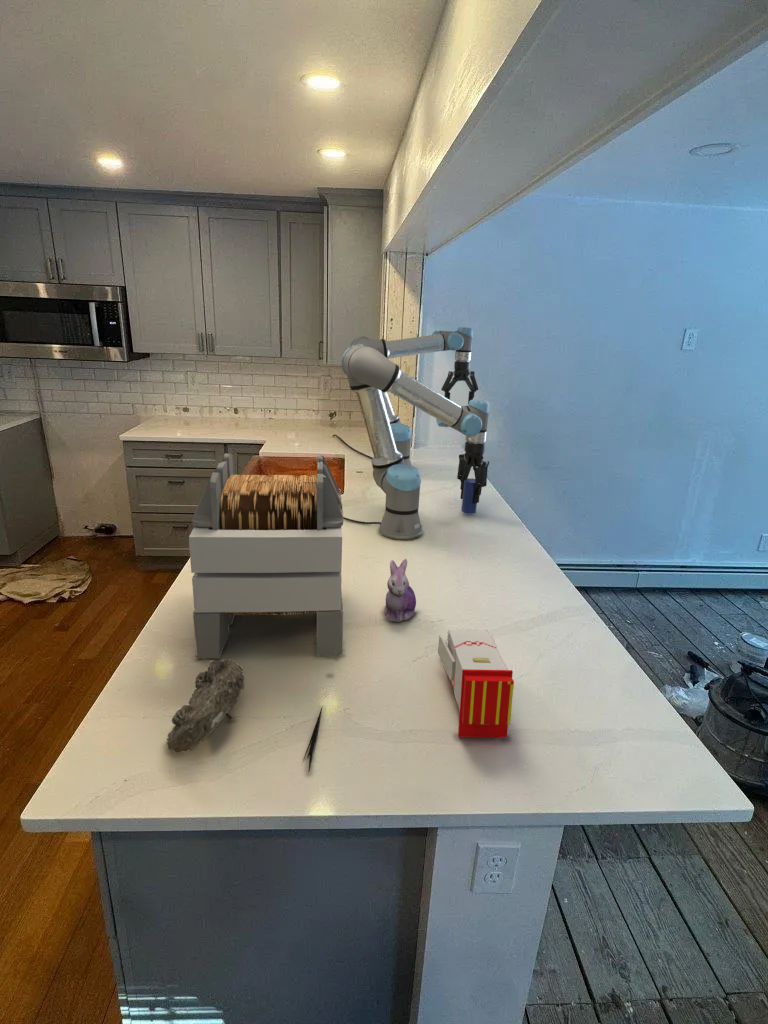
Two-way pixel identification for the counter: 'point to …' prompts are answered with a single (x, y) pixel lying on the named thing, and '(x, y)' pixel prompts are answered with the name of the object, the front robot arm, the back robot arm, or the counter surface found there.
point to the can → (468, 497)
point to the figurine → (399, 594)
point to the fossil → (206, 705)
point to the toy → (478, 682)
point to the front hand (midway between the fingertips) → (469, 500)
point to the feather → (313, 740)
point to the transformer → (267, 553)
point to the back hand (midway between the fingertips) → (458, 405)
